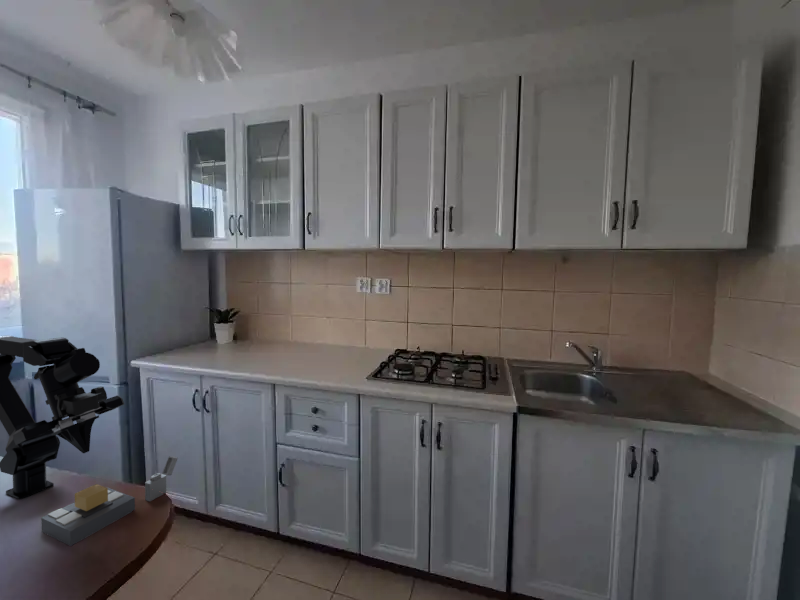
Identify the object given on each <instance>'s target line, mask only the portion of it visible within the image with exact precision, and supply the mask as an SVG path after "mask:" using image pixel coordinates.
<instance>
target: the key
mask: <svg viewBox="0 0 800 600" xmlns="http://www.w3.org/2000/svg"><path fill="white" fill-rule="evenodd" d="M106 487H107V486H102V485H100V484H98V483H96V484H94V485H91V486H88V487H87V488H84V489H82V490H80V491H77V492H76V493H74V502H75V507H77V508H80V509H82V510H84V511H88V510H90V509H92V508H94V507H96V506H98V505H100V504H102V503H104V502H106V501H108V488H109V487H108V488H106Z"/></svg>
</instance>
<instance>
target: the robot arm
mask: <svg viewBox="0 0 800 600" xmlns="http://www.w3.org/2000/svg"><path fill="white" fill-rule="evenodd" d="M16 357H17V358H22V361H23V362H24V363H26V364H28V365H31V366H33V367H36V366H39V367H38V368H37V372H35V374H34V376H33V379H34V380H39V381H40V383H41V386H42V389H43V392H44V394H45V397H46V400H45V404H46V405H47V406H48V405H49V407H50V409H51V413H52V415H53V416H52V417H51V421H47V420H45V419H43V420H40V421H38V422H36V421H35V419H34V418H33V416H32V413H30V411H29V409H28V407H27V406H26V404H25V402H24V401H23V399H22V397H21V396H20V394H19V392H18V391H17V390H16V388H15V386H14V384H13V383H12V381H11V380H10V375H11V372H12V369H13V363H14V362H15V360H16V359H17V358H16ZM100 366H101V363H100V360H99V358H97V356H95V355H94V354H93V353H90V352H86V349H85V347H82V348H77V346H75V345H74V344H73V343H71V342H70V341H69V339H68V338H67V337H56V338H55V337H54V338H47V339H32V338H26V337H17V336H13V335H10V334H7V335H0V422H1V424H2V426H3V427H4V429H5V431H6V433H7V434H8V437H9V438H8V440H7V443H6V447H5V455H4V456H3V457H2V458H1V460H0V472H1V473H4V474H6V475H10V476H12V488H9V489H7V490H6V491H5V494H7V495H8V496H11V497H13V498H15V499H17V500H22V499H24V498H27V497H29V496H32V495H34V494H36V493H39V492H41V491H44V490H47V489H48V488H51V487H54V484H55V483H54V482H51V481H50V480H47V463H48V462H49V461H53V460H56V459H57V457H58V453H59V449H60V445H61V442H60V439H59V437H60V438H62V439H63V440H65V441H66V442H68V443H69V444H71V445H72V446H73V447H74V448H76V449H77V450H78V451H80V452H81V453H82V454H86V453H88V452H90V448H91V447H90V446H91V436H92V435H91V433H92V428H93V425H94V423H95V421H96V420H97V419H99V418H100V415H102V414H105V413H108V412H111V411H113V410H115V409H117V408H120V407H121V406H124V405H125V402H124V399H123V398H122V396H120V395H115V396H112V397H109V398H108V396H107V395H108V394H107V391H106V389H105V388H104V386H98V387H94V388H91V389H90V392H86V391H85V389H84V388H83V386H81V387H80V385H79V382H81V381H84V380H85V379H88V378H89V377H91V376H94V375H95V374H96V373H98V372H99V369H100ZM74 422H76V423H74Z"/></svg>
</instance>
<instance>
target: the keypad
mask: <svg viewBox="0 0 800 600" xmlns="http://www.w3.org/2000/svg"><path fill="white" fill-rule="evenodd" d="M105 487H106V488H108V501H106V502H104V503H102V504H100V505H98V506H96V507H94V508H92V509H90V510H88V511H84V510H82V509H80V508H77V507H75V501H74V502H73V503H70V504H68V505H65V506H64V507H61V508H59V509H56V510H54V511H51V512H49V513H47V514H46V515H44V516H43V517H41V521H40V522H41V524H40V525H41V533H43V534H45V533H46V534H45V535H47V534H48V535H47V536H49V537H51V538H53V539H55V540H57V541H60V542H61V543H64V544H65V545H68V546H70V547H71V546H73V545H75V544H77V543H79V542H81V541H82V540H84V539H86V538H88V537H90V536H91V535H94V534H95V533H96V532H98V531H100V530H102V529H104V528H106V527H107V526H109V525H111V524H113V523H114V522H115V523H116V521H118V520H120V519H121V518H123V517H125V516H127V515H128V514H130V513H133V512H134V511H136V498H135V497H134V496H132V495H129V494H126V493H124V492H121V491H118V490H115V489H112V488H110V487H108V486H105ZM133 510H134V511H133ZM132 511H133V512H132Z"/></svg>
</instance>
